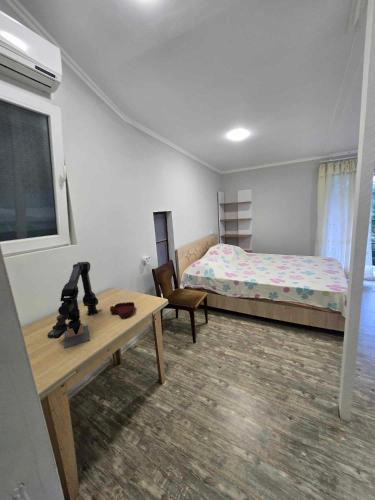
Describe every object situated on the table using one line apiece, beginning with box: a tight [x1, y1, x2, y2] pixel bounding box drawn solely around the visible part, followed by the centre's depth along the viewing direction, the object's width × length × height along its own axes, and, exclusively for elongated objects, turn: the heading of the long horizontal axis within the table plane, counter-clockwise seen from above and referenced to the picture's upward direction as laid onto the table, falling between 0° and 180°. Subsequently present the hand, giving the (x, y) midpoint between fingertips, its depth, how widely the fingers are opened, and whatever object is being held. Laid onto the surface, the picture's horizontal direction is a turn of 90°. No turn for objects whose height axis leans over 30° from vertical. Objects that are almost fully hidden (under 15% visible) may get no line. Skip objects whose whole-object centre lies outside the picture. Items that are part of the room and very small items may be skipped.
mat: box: [63, 325, 91, 349], centre depth 122 cm, size 18×13×1 cm
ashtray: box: [109, 301, 136, 319], centre depth 150 cm, size 18×16×5 cm
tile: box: [67, 322, 84, 337], centre depth 123 cm, size 2×8×6 cm, turn 120°
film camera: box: [47, 320, 68, 339], centre depth 127 cm, size 13×8×10 cm
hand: (76, 331), depth 123 cm, fingers open, 7 cm apart
